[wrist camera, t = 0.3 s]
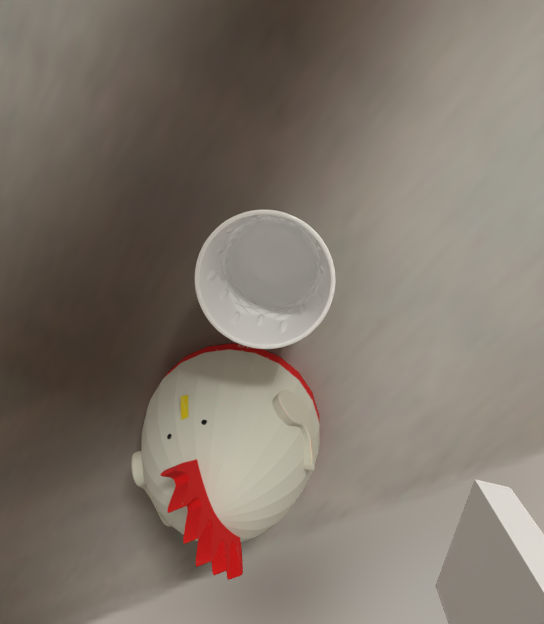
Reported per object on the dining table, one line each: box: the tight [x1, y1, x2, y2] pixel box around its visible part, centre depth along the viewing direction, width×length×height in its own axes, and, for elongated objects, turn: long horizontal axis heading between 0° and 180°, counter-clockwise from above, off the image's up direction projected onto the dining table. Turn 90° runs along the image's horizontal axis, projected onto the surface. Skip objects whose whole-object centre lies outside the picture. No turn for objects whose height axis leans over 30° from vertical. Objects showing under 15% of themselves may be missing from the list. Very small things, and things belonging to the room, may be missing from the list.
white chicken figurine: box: [132, 343, 320, 579], centre depth 33 cm, size 14×14×15 cm
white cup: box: [195, 210, 335, 349], centre depth 32 cm, size 8×8×10 cm
